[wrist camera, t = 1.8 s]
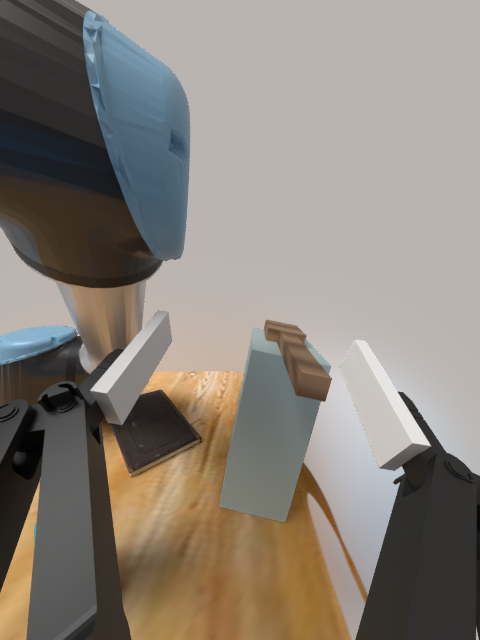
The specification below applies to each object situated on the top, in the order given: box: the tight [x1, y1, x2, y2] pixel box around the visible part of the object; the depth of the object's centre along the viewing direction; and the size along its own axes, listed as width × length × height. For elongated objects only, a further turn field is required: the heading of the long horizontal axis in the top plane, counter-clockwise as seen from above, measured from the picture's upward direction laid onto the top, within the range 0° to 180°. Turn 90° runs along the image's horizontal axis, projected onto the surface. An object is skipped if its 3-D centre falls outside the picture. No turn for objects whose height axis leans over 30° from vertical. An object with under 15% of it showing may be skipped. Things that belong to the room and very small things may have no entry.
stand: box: [219, 328, 331, 523], centre depth 40 cm, size 16×12×30 cm
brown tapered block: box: [264, 320, 332, 402], centre depth 32 cm, size 27×7×2 cm, turn 175°
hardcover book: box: [110, 390, 201, 477], centre depth 50 cm, size 16×23×2 cm
